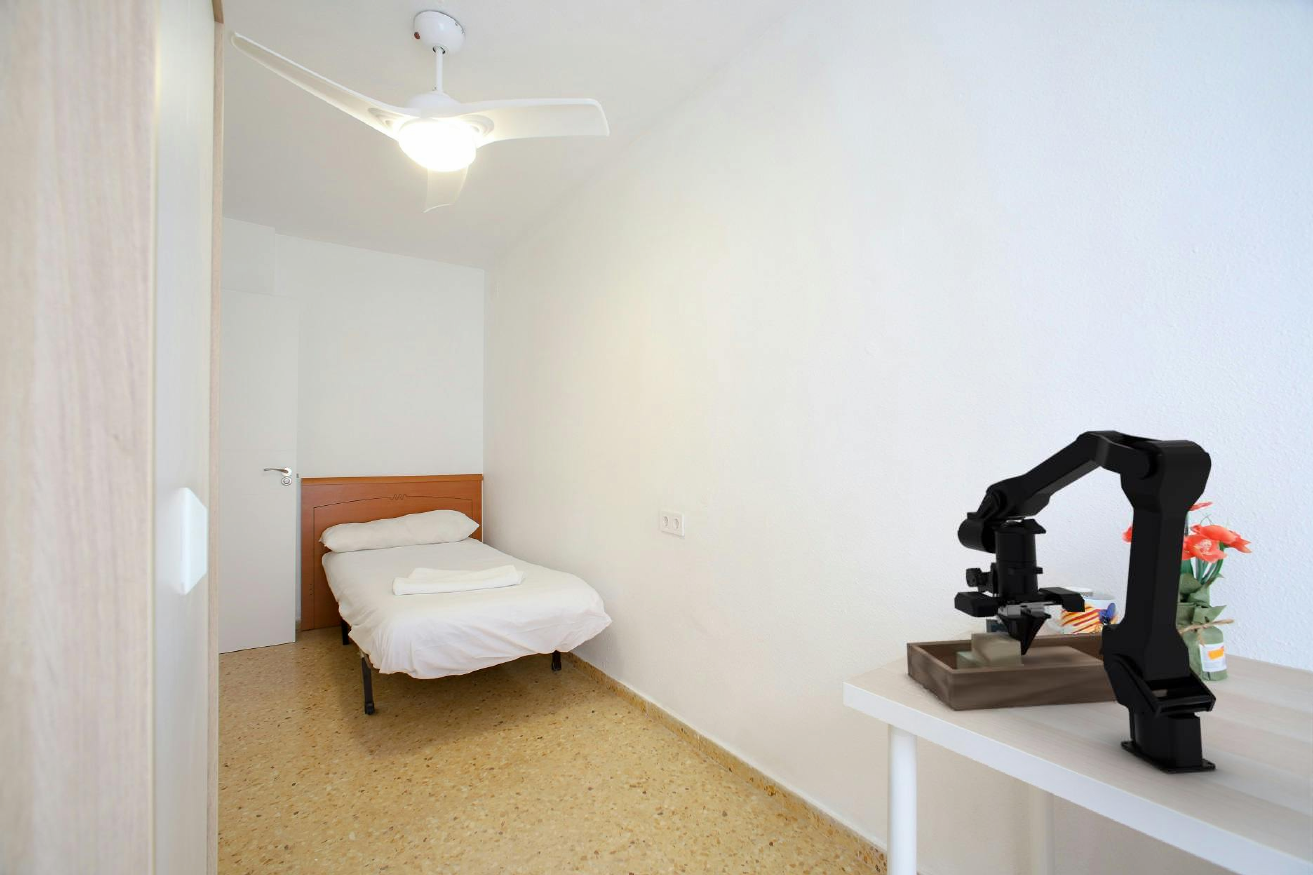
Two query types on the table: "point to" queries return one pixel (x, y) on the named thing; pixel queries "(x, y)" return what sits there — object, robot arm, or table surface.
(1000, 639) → the maple block
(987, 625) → the watch
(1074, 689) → the tray
